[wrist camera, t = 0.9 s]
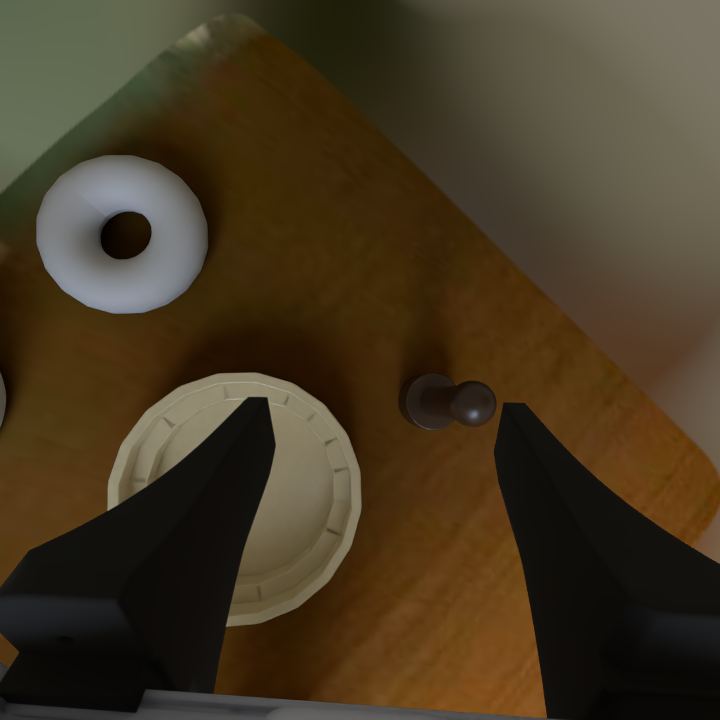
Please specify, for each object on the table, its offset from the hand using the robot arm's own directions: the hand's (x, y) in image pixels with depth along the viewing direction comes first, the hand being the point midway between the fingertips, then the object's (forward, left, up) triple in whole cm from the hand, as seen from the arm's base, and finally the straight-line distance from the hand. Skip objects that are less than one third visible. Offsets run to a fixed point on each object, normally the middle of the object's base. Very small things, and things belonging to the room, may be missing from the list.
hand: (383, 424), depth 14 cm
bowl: (-5, +7, -16) cm, 18 cm away
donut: (+11, +14, -16) cm, 24 cm away
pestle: (0, -5, -16) cm, 17 cm away
